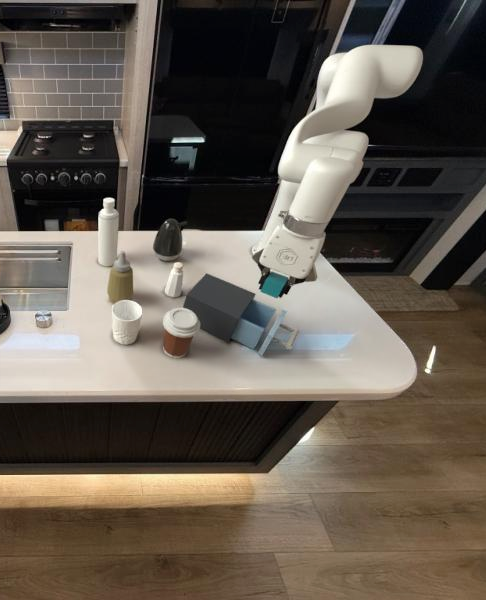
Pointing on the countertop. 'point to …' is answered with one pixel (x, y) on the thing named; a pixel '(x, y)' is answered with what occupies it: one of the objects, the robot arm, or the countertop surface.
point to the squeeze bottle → (120, 280)
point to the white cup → (126, 321)
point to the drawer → (260, 327)
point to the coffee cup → (179, 331)
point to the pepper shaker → (175, 281)
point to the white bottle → (108, 233)
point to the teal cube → (274, 284)
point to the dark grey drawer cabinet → (217, 305)
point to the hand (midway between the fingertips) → (271, 290)
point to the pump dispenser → (168, 240)
